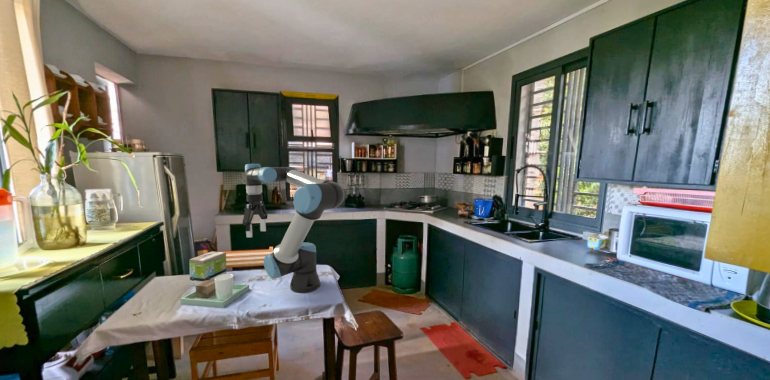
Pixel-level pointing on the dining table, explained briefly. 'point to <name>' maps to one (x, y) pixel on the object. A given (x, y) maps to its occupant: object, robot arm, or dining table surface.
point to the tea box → (207, 267)
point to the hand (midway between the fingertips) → (256, 234)
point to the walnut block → (205, 289)
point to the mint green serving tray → (215, 297)
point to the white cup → (224, 286)
